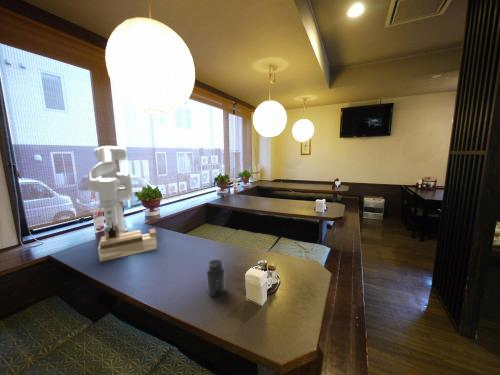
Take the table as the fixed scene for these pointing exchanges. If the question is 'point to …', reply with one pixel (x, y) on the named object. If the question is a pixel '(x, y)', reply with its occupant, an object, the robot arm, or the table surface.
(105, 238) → the lid
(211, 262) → the supplement bottle
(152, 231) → the brown wooden block
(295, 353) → the table surface
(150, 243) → the light wooden long piece
